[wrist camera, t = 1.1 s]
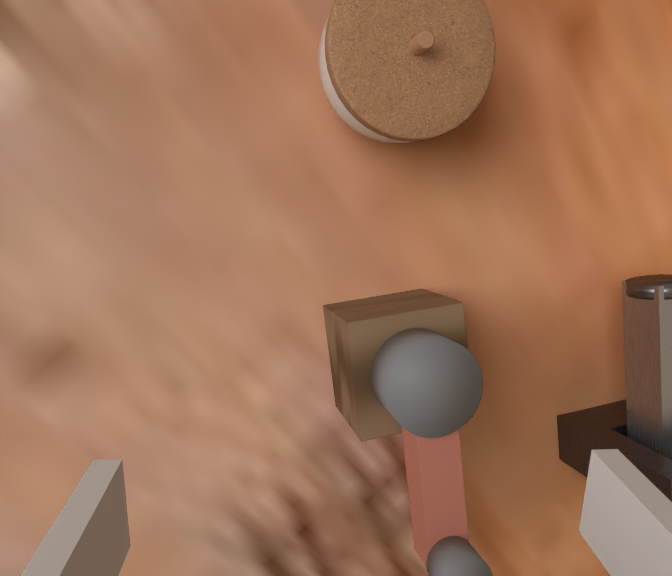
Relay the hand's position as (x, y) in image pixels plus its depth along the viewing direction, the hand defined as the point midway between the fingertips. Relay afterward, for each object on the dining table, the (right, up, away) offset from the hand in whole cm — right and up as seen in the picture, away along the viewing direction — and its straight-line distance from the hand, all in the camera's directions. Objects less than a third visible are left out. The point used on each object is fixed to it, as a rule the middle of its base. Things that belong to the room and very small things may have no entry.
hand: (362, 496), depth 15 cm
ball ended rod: (+5, -5, +21) cm, 22 cm away
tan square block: (+3, +1, +28) cm, 28 cm away
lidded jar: (+2, +21, +25) cm, 33 cm away
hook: (+24, -3, +29) cm, 38 cm away
